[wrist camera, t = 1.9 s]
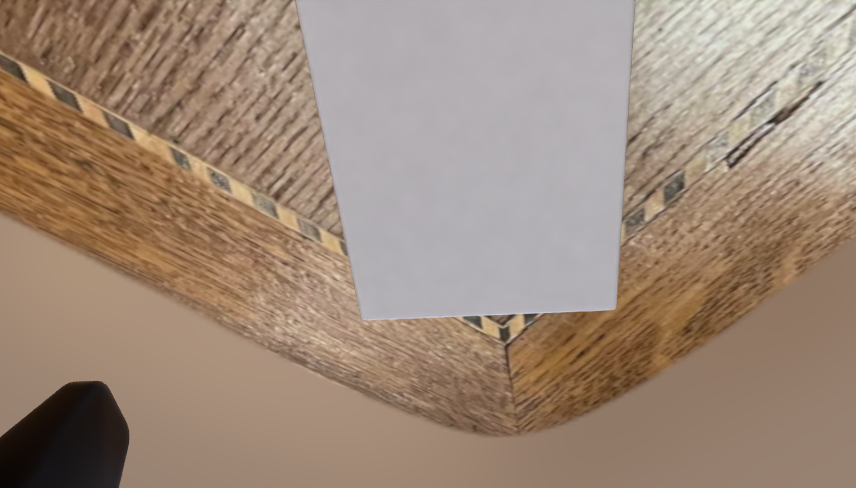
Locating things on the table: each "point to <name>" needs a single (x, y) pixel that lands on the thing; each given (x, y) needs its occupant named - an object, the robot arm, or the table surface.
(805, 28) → the table surface
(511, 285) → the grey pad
